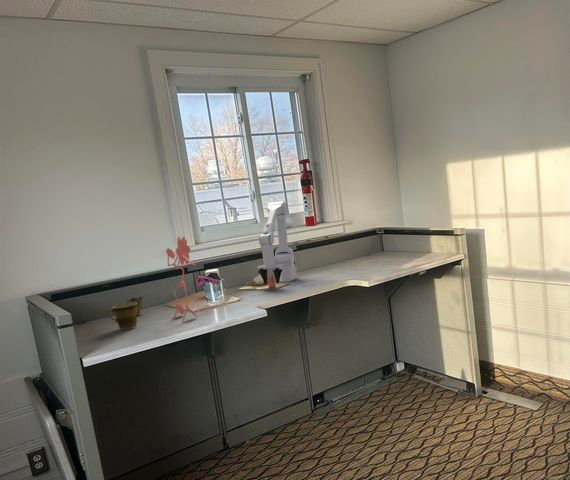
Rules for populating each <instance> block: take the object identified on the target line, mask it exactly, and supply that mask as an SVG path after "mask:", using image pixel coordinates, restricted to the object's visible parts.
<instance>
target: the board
mask: <svg viewBox="0 0 570 480" xmlns="http://www.w3.org/2000/svg"><path fill="white" fill-rule="evenodd" d="M289 285H290V283H277V284H276V283H275V287H276V288H271V289H270V288H269V284H268V282H267V283H265V284H264V283H261V284H256V283H255V281H254V280H253V281H249V282H246V283H244V286H243V287H240V288H238V291H277V290H278V289H281V288H284V287H286V286H289Z"/></svg>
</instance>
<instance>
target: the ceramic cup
mask: <svg viewBox="0 0 570 480" xmlns="http://www.w3.org/2000/svg"><path fill="white" fill-rule="evenodd" d="M108 312H111V313H113V314H114V317H115V318H113V317H111V316H109V315H108V314H107V313H108ZM105 316H106V317H107V318H109V319H111V320H113V321H115V322H116V324H117V325H118V328H119V330H120V331H122V332H123V331H129V330H134V329H135V328H137V324H138V323H137V321H138V319H137V318H138V316H137V303H136V302H129V303H127V302H124V303H123V302H122V303H118V304H115V305H113V306H112V309H107V310H106V311H105Z"/></svg>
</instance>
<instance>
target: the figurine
mask: <svg viewBox="0 0 570 480" xmlns="http://www.w3.org/2000/svg"><path fill="white" fill-rule="evenodd" d="M176 245H177V248H176V249H175V252H174V251H173V250H172V249H170V248H169V247H168V248H167V249H166V250H165V251H166V254H167V266H168V267H171V266H172V267H174V268H175V270H179V269H180V270H182V278H181V279H182V280H180V281H179V282H178V285H179V286H177V287H175V288H174V289H173V293H174V297H175V300H176V302H177V303H176V304H175V313H174V316H173V319H176V316H177V313H178V312H179V314H181V315H183V317H182V321H185V319H186V316H187V315H186V314H187V313H191V314H192V315H193V316H195V318H199V317H198V316H197V315H196V314H195V310H192V309H191V308H190V307H189V303H188V295H187V289H186V282H185V281H184V278H185V277H184V276H185V269H184V268H183V267H180V265H181V266H183V265H184V263H185V264H186V265H189V263H190V264H191V265H192V266H196V264H195V263H193V261H191V260H190V254H189V253H190V252H191V247H190V246H189V245H188V240H187V239H186V237H185V236H182V238H181V237H180V236H178V237H177V244H176ZM174 258H175V259H174ZM170 259H172V260H174V262H173V263H171V264H170ZM177 260H178V264H176V262H177ZM178 288H184V292H185V297H186V298H185V299H186V305H185V306H184V307H185V308H184V307H183V305H181V303H179V301H178V297H177V294H176V291H175V290H177V289H178ZM202 312H205V313H209V314H210V312H209V311H207V310H205V311H204V310H202Z"/></svg>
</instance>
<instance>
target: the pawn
mask: <svg viewBox="0 0 570 480" xmlns="http://www.w3.org/2000/svg"><path fill="white" fill-rule="evenodd" d="M267 281H268V284H269V288H270V289H271V288H276V287H275V284H276V280H275V276H274V275H271V274H270V275H269V276H268V278H267Z"/></svg>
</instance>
